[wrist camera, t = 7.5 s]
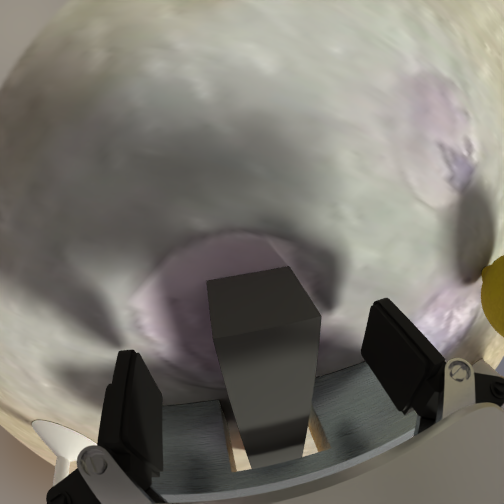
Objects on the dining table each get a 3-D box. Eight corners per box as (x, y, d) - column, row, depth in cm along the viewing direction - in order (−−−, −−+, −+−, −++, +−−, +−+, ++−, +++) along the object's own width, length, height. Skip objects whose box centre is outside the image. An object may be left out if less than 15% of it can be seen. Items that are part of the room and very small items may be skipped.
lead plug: (206, 280, 10) (213, 338, 7) (288, 265, 11) (321, 315, 8) (248, 450, 17) (256, 482, 15) (287, 441, 18) (298, 473, 15)
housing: (135, 407, 13) (132, 493, 8) (377, 357, 15) (422, 423, 10) (153, 430, 14) (155, 504, 9) (367, 384, 16) (404, 444, 11)
